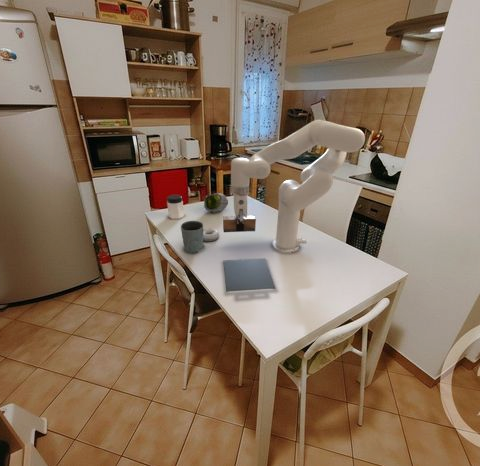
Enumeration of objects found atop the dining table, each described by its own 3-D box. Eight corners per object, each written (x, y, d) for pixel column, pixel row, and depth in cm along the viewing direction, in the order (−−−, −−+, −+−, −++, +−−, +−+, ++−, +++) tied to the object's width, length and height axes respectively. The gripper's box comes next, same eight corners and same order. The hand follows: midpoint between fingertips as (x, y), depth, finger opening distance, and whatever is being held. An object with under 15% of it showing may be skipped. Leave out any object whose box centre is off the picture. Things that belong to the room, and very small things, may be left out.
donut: (197, 234, 134) (200, 243, 126) (197, 228, 133) (200, 237, 124) (217, 232, 137) (221, 241, 128) (216, 226, 135) (220, 234, 127)
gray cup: (192, 241, 128) (190, 218, 122) (209, 246, 123) (208, 223, 118) (178, 250, 120) (175, 226, 115) (195, 256, 116) (193, 232, 110)
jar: (176, 212, 159) (173, 193, 154) (186, 214, 156) (185, 195, 150) (165, 217, 152) (163, 198, 147) (176, 220, 149) (174, 200, 143)
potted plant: (232, 205, 161) (220, 206, 148) (217, 215, 167) (204, 218, 154) (223, 188, 162) (210, 188, 149) (208, 199, 168) (195, 200, 155)
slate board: (265, 260, 113) (265, 258, 113) (275, 290, 96) (275, 288, 95) (223, 262, 112) (223, 260, 111) (226, 294, 94) (226, 291, 94)
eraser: (253, 227, 119) (254, 215, 117) (255, 231, 116) (255, 218, 113) (223, 228, 118) (222, 216, 115) (223, 232, 114) (223, 219, 112)
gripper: (252, 195, 101) (250, 237, 110) (246, 183, 116) (245, 220, 124) (232, 196, 100) (232, 238, 109) (229, 183, 115) (229, 221, 124)
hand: (239, 228), depth 117 cm, fingers closed on eraser, 4 cm apart
